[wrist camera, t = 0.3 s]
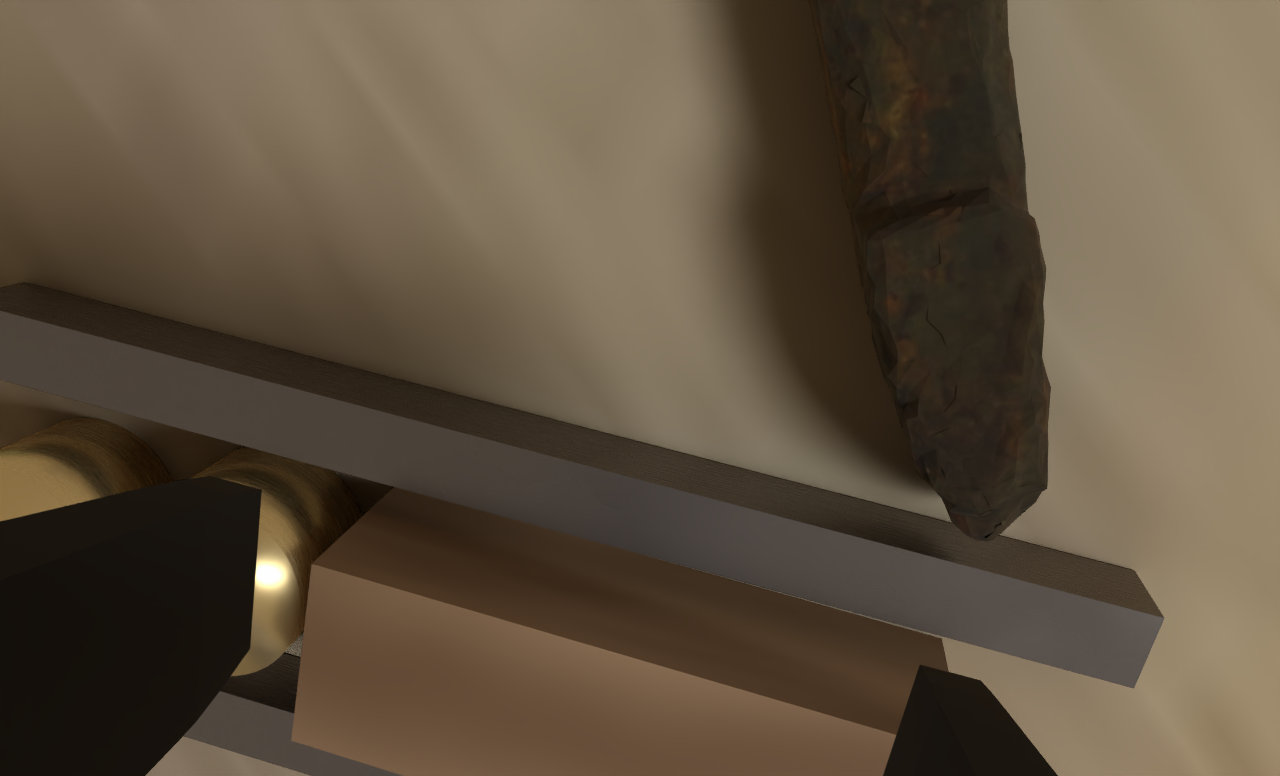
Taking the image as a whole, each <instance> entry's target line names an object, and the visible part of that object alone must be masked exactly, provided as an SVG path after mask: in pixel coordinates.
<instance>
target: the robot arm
mask: <svg viewBox="0 0 1280 776" xmlns="http://www.w3.org/2000/svg"><path fill="white" fill-rule="evenodd" d="M261 494H262V490H261V489H257V488H254V487H250V486H246V485H242V484H239V483H235V482H231V481H227V480H224V479H220V478H216V477H212V476H208V477H199V478H191V479H185V480H179V481H174V482H169V483H163V484H159V485H154V486H149V487H145V488H140V489H136V490H132V491H127V492H123V493H119V494H114V495H110V496H106V497H102V498H97V499H93V500H89V501H85V502H81V503H76V504H72V505H68V506H64V507H59V508H55V509H51V510H47V511H43V512H38V513H34V514H30V515H26V516H22V517H17V518H13V519H9V520H4V521H0V776H145V775H146V774H147V773H148V772H149V771H150V770H151V769H152V768H153V767H154V766H155V765H156V764H157V763H158V762H159V761H160V760H161V759H162V758H163V757H164V755H165V754H166V753H167V752H168V751H169V750H170V749H171V748H172V747H173V746H174V745H175V744H176V743H177V742H178V741H179V740H180V739H181V738H182V737H183V736H184V735H185V733H186V732H187V731H188V730H189V729H190V728H191V727H192V726H193V725H194V724H195V723H196V722H197V720H198V719H199V718H200V716H201V715H202V714H203V712H204V711H205V710H206V709H207V707H208V706H209V705H210V703H211V702H212V701H213V699H214V698H215V697H216V696H217V694H218V693H219V692H220V690H221V689H222V688H223V686H224V685H225V683H226V682H227V681H228V679H229V678H230V676H231V675H232V674H233V672H234V671H235V669H236V668H237V667H238V665H239V664H240V662H241V661H242V660H243V658H244V657H245V655H246V654H247V653H248V651H249V650H250V645H251V631H252V617H253V603H254V590H255V576H256V562H257V549H258V535H259V521H260V508H261ZM883 776H1058V775H1057V774H1056V773H1055V772H1054V770H1053V769H1052V768H1051V767H1050V765H1049V764H1048V763H1047V762H1046V760H1045V759H1044V758H1043V756H1042V755H1041V754H1040V753H1039V751H1038V750H1037V749H1036V748H1035V746H1034V745H1033V744H1032V743H1031V741H1030V740H1029V739H1028V737H1027V736H1026V735H1025V734H1024V732H1023V731H1022V730H1021V729H1020V727H1019V726H1018V725H1017V724H1016V722H1015V721H1014V720H1013V718H1012V717H1011V716H1010V715H1009V713H1008V712H1007V711H1006V710H1005V708H1004V707H1003V706H1002V705H1001V703H1000V702H999V701H998V700H997V699H996V697H995V696H994V695H993V694H992V693H991V691H990V690H989V689H988V688H987V687H986V686H985V685H984V684H983V683H982V681H981V680H977V679H973V678H969V677H965V676H962V675H958V674H954V673H950V672H947V671H943V670H939V669H935V668H932V667H928V666H924V665H919V668H918V671H917V674H916V677H915V680H914V683H913V686H912V689H911V692H910V695H909V698H908V701H907V704H906V708H905V711H904V714H903V717H902V720H901V723H900V726H899V729H898V732H897V735H896V738H895V741H894V744H893V747H892V750H891V753H890V756H889V759H888V762H887V765H886V768H885V771H884V774H883Z"/></svg>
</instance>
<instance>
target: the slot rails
mask: <svg viewBox="0 0 1280 776" xmlns="http://www.w3.org/2000/svg"><path fill="white" fill-rule="evenodd" d="M0 380H3V381H7V382H11V383H14V384H18V385H22V386H25V387H29V388H33V389H37V390H40V391H44V392H48V393H51V394H55V395H59V396H62V397H66V398H70V399H73V400H77V401H81V402H84V403H88V404H92V405H95V406H99V407H103V408H106V409H110V410H114V411H117V412H121V413H125V414H128V415H132V416H136V417H139V418H143V419H147V420H150V421H154V422H158V423H161V424H165V425H169V426H172V427H176V428H180V429H183V430H187V431H191V432H194V433H198V434H202V435H205V436H209V437H213V438H216V439H220V440H224V441H227V442H231V443H235V444H238V445H242V446H246V447H249V448H253V449H257V450H260V451H264V452H268V453H271V454H275V455H279V456H282V457H286V458H290V459H293V460H297V461H301V462H305V463H308V464H312V465H316V466H319V467H323V468H327V469H330V470H334V471H338V472H341V473H345V474H349V475H352V476H356V477H360V478H363V479H367V480H371V481H374V482H378V483H382V484H385V485H389V486H393V487H396V488H400V489H404V490H407V491H411V492H415V493H418V494H422V495H426V496H429V497H433V498H437V499H440V500H444V501H448V502H451V503H455V504H459V505H462V506H466V507H470V508H473V509H477V510H481V511H484V512H488V513H492V514H495V515H499V516H503V517H506V518H510V519H514V520H517V521H521V522H525V523H528V524H532V525H536V526H539V527H543V528H547V529H550V530H554V531H558V532H561V533H565V534H569V535H573V536H576V537H580V538H584V539H587V540H591V541H595V542H598V543H602V544H606V545H609V546H613V547H617V548H620V549H624V550H628V551H631V552H635V553H639V554H642V555H646V556H650V557H653V558H657V559H661V560H664V561H668V562H672V563H675V564H679V565H683V566H686V567H690V568H694V569H697V570H701V571H705V572H708V573H712V574H716V575H719V576H723V577H727V578H730V579H734V580H738V581H741V582H745V583H749V584H752V585H756V586H760V587H763V588H767V589H771V590H774V591H778V592H782V593H785V594H789V595H793V596H796V597H800V598H804V599H807V600H811V601H815V602H818V603H822V604H826V605H829V606H833V607H837V608H841V609H844V610H848V611H852V612H855V613H859V614H863V615H866V616H870V617H874V618H877V619H881V620H885V621H888V622H892V623H896V624H899V625H903V626H907V627H910V628H914V629H918V630H921V631H925V632H929V633H932V634H936V635H940V636H943V637H947V638H951V639H954V640H958V641H962V642H965V643H969V644H973V645H976V646H980V647H984V648H987V649H991V650H995V651H998V652H1002V653H1006V654H1009V655H1013V656H1017V657H1020V658H1024V659H1028V660H1031V661H1035V662H1039V663H1042V664H1046V665H1050V666H1053V667H1057V668H1061V669H1064V670H1068V671H1072V672H1075V673H1079V674H1083V675H1086V676H1090V677H1094V678H1098V679H1101V680H1105V681H1109V682H1112V683H1116V684H1120V685H1123V686H1127V687H1131V688H1134V687H1135V684H1136V682H1137V680H1138V678H1139V675H1140V673H1141V671H1142V668H1143V666H1144V664H1145V662H1146V659H1147V657H1148V655H1149V652H1150V650H1151V648H1152V645H1153V643H1154V641H1155V639H1156V636H1157V634H1158V632H1159V629H1160V627H1161V625H1162V623H1163V620H1164V617H1163V615H1162V614H1161V612H1160V610H1159V609H1158V607H1157V606H1156V604H1155V602H1154V601H1153V599H1152V598H1151V596H1150V594H1149V593H1148V591H1147V590H1146V588H1145V586H1144V585H1143V583H1142V582H1141V580H1140V578H1139V577H1138V575H1137V574H1136V572H1135V571H1134V570H1130V569H1126V568H1122V567H1118V566H1114V565H1110V564H1107V563H1103V562H1099V561H1095V560H1091V559H1087V558H1084V557H1080V556H1076V555H1072V554H1068V553H1064V552H1060V551H1057V550H1053V549H1049V548H1045V547H1041V546H1037V545H1033V544H1030V543H1026V542H1022V541H1018V540H1014V539H1010V538H1007V537H1003V536H999V535H998V536H997V538H996V539H995V540H991V541H987V542H986V541H976V540H974V539H972V538H970V537H968V536H966V535H965V534H964V533H963V532H962V531H961V530H960V529H959V528H957V527H956V525H955V524H953V523H949V522H945V521H941V520H937V519H933V518H930V517H926V516H922V515H918V514H914V513H910V512H906V511H903V510H899V509H895V508H891V507H887V506H883V505H880V504H876V503H872V502H868V501H864V500H860V499H856V498H853V497H849V496H845V495H841V494H837V493H833V492H829V491H826V490H822V489H818V488H814V487H810V486H806V485H803V484H799V483H795V482H791V481H787V480H783V479H779V478H776V477H772V476H768V475H764V474H760V473H756V472H752V471H749V470H745V469H741V468H737V467H733V466H729V465H726V464H722V463H718V462H714V461H710V460H706V459H702V458H699V457H695V456H691V455H687V454H683V453H679V452H676V451H672V450H668V449H664V448H660V447H656V446H652V445H649V444H645V443H641V442H637V441H633V440H629V439H625V438H622V437H618V436H614V435H610V434H606V433H602V432H599V431H595V430H591V429H587V428H583V427H579V426H575V425H572V424H568V423H564V422H560V421H556V420H552V419H548V418H545V417H541V416H537V415H533V414H529V413H525V412H522V411H518V410H514V409H510V408H506V407H502V406H498V405H495V404H491V403H487V402H483V401H479V400H475V399H472V398H468V397H464V396H460V395H456V394H452V393H448V392H445V391H441V390H437V389H433V388H429V387H425V386H421V385H418V384H414V383H410V382H406V381H402V380H398V379H395V378H391V377H387V376H383V375H379V374H375V373H371V372H368V371H364V370H360V369H356V368H352V367H348V366H344V365H341V364H337V363H333V362H329V361H325V360H321V359H318V358H314V357H310V356H306V355H302V354H298V353H294V352H291V351H287V350H283V349H279V348H275V347H271V346H267V345H264V344H260V343H256V342H252V341H248V340H244V339H241V338H237V337H233V336H229V335H225V334H221V333H217V332H214V331H210V330H206V329H202V328H198V327H194V326H191V325H187V324H183V323H179V322H175V321H171V320H167V319H164V318H160V317H156V316H152V315H148V314H144V313H140V312H137V311H133V310H129V309H125V308H121V307H117V306H114V305H110V304H106V303H102V302H98V301H94V300H90V299H87V298H83V297H79V296H75V295H71V294H67V293H63V292H60V291H56V290H52V289H48V288H44V287H40V286H37V285H33V284H29V283H25V282H22V283H18V284H14V285H10V286H6V287H2V288H0ZM300 660H301V658H298V657H295V656H291V655H288V654H285V653H283V654H282V655H281V656H280V657H279V658H278V659H277V660H276V661H275V662H273V663H272V664H270V665H269V666H267V667H265V668H263V669H261V670H259V671H257V672H253V673H250V674H246V675H239V676H230V678H229V679H228V681H227V682H226V683H225V685H224V686H223V688H222V689H221V690H220V692H219V693H218V694H217V696H216V697H215V698H214V699H213V701H212V702H211V703H210V705H209V706H208V707H207V709H206V710H205V711H204V712H203V714H202V715H201V716H200V718H199V719H198V720H197V722H196V723H195V724H194V725H193V726H192V727H191V728H190V729H189V730H188V731H187V732H186V733H185V735H184V737H188V738H191V739H194V740H197V741H201V742H204V743H207V744H210V745H214V746H217V747H220V748H223V749H227V750H230V751H233V752H236V753H240V754H243V755H246V756H249V757H252V758H256V759H259V760H262V761H265V762H269V763H272V764H275V765H278V766H282V767H285V768H288V769H291V770H295V771H298V772H301V773H304V774H308V775H311V776H403V775H399V774H396V773H393V772H390V771H387V770H384V769H380V768H377V767H374V766H371V765H368V764H364V763H361V762H358V761H355V760H352V759H348V758H345V757H342V756H339V755H336V754H332V753H329V752H326V751H323V750H320V749H317V748H313V747H310V746H307V745H304V744H301V743H297V742H294V741H291V738H292V730H293V721H294V712H295V704H296V695H297V686H298V678H299V669H300Z"/></svg>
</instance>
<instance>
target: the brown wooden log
mask: <svg viewBox="0 0 1280 776" xmlns="http://www.w3.org/2000/svg"><path fill="white" fill-rule="evenodd" d="M809 3H810V8H811V12H812V17H813V22H814V26H815V31H816V36H817V41H818V47H819V54H820V60H821V66H822V72H823V78H824V83H825V88H826V93H827V98H828V104H829V110H830V115H831V121H832V126H833V131H834V135H835V139H836V144H837V149H838V157H839V164H840V169H841V178H842V190H843V192H844V195H845V197H846V201H847V206H848V208H849V210H850V215H851V220H852V225H853V232H854V242H855V250H856V256H857V262H858V267H859V273H860V279H861V285H862V286H863V288H864V291H865V301H866V304H867V308H868V311H867V313H868V316H869V318H870V321H871V329H872V339H873V343H874V346H875V349H876V353H877V356H878V359H879V363H880V366H881V370H882V373H883V376H884V378H885V380H886V382H887V384H888V386H889V388H890V389H891V392H892V396H893V399H894V403H895V406H896V410H897V413H898V416H899V420H900V423H901V426H902V428H903V429H904V431H905V434H906V437H907V440H908V443H909V447H910V451H911V454H912V459H913V462H914V465H915V467H916V470H917V472H918V474H919V475H920V476H921V477H922V478H923V479H925V480H926V481H927V482H929V483H930V484H931V485H932V487H933V488H934V490H935V491H936V492H937V493H938V495H939V496H940V497H941V498H942V500H943V502H944V504H945V507H946V509H947V512H948V514H949V516H950V519H951V521H952V522H953V523H954V524H955V525H956V527H957V528H959V529H960V530H961V531H962V532H963V533H964V534H965V535H966V536H968V537H970V538H972V539H974V540H976V541H986V542H987V541H991V540H995V539H996V538H997V536H998V535H999V534H1001V533H1002V532H1003V531H1004V530H1005V529H1006V528H1007V527H1008V526H1009V525H1010V524H1011V523H1012V522H1014V521H1015V520H1016V519H1017V518H1018V517H1019V516H1021V514H1022V513H1023V512H1025V511H1026V510H1027V509H1028V508H1029V507H1030V506H1032V505H1033V504H1034V503H1035V502H1036V501H1037V499H1038V497H1039V496H1040V494H1041V492H1042V491H1044V490H1045V489H1047V483H1048V418H1049V404H1050V391H1051V386H1050V383H1049V380H1048V377H1047V374H1046V371H1045V367H1044V363H1043V359H1042V348H1043V334H1044V310H1043V299H1044V289H1045V280H1046V265H1045V261H1044V257H1043V253H1042V249H1041V245H1040V236H1039V232H1038V228H1037V225H1036V221H1035V219H1034V218H1033V217H1032V216H1031V215H1029V212H1028V206H1027V194H1026V181H1025V158H1024V150H1023V142H1022V133H1021V127H1020V120H1019V113H1018V106H1017V98H1016V89H1015V79H1014V69H1013V60H1012V57H1011V53H1010V49H1009V37H1008V14H1007V0H809Z"/></svg>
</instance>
